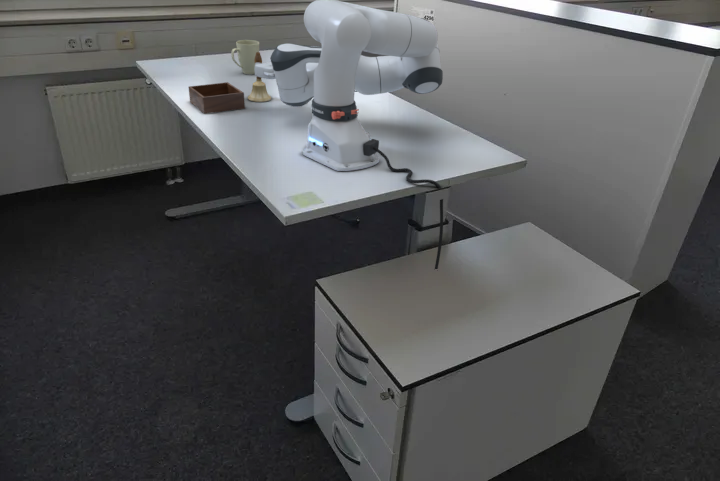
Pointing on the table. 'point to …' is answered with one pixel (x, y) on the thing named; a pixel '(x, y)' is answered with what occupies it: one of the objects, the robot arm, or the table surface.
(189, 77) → the table surface
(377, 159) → the robot arm
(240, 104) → the crate
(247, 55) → the mug
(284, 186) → the table surface
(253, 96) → the hand bell
